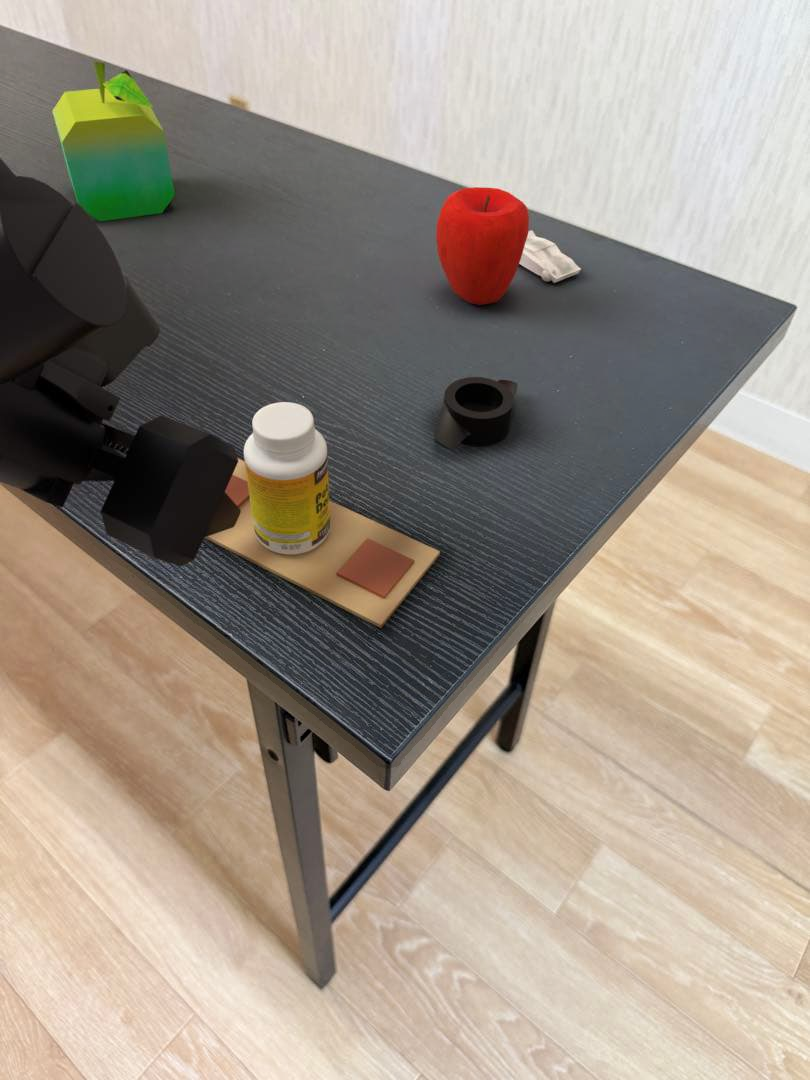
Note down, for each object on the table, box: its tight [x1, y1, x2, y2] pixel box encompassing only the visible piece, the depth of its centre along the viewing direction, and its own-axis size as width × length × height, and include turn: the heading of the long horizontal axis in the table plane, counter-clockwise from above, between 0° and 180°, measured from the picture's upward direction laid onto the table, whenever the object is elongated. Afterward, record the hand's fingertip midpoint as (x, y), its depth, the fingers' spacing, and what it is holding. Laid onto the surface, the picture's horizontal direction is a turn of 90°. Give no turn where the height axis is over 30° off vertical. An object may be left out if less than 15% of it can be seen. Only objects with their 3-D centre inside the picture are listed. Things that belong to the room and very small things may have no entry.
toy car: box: [519, 229, 582, 284], centre depth 88 cm, size 5×8×2 cm, turn 38°
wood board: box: [204, 458, 441, 629], centre depth 59 cm, size 20×8×1 cm, turn 59°
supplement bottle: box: [243, 401, 330, 555], centre depth 56 cm, size 6×6×10 cm
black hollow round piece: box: [433, 376, 518, 452], centre depth 68 cm, size 8×10×3 cm
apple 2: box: [435, 186, 530, 306], centre depth 80 cm, size 9×9×11 cm
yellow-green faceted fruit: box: [52, 60, 176, 222], centre depth 92 cm, size 11×10×15 cm
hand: (180, 494), depth 49 cm, fingers open, 9 cm apart
